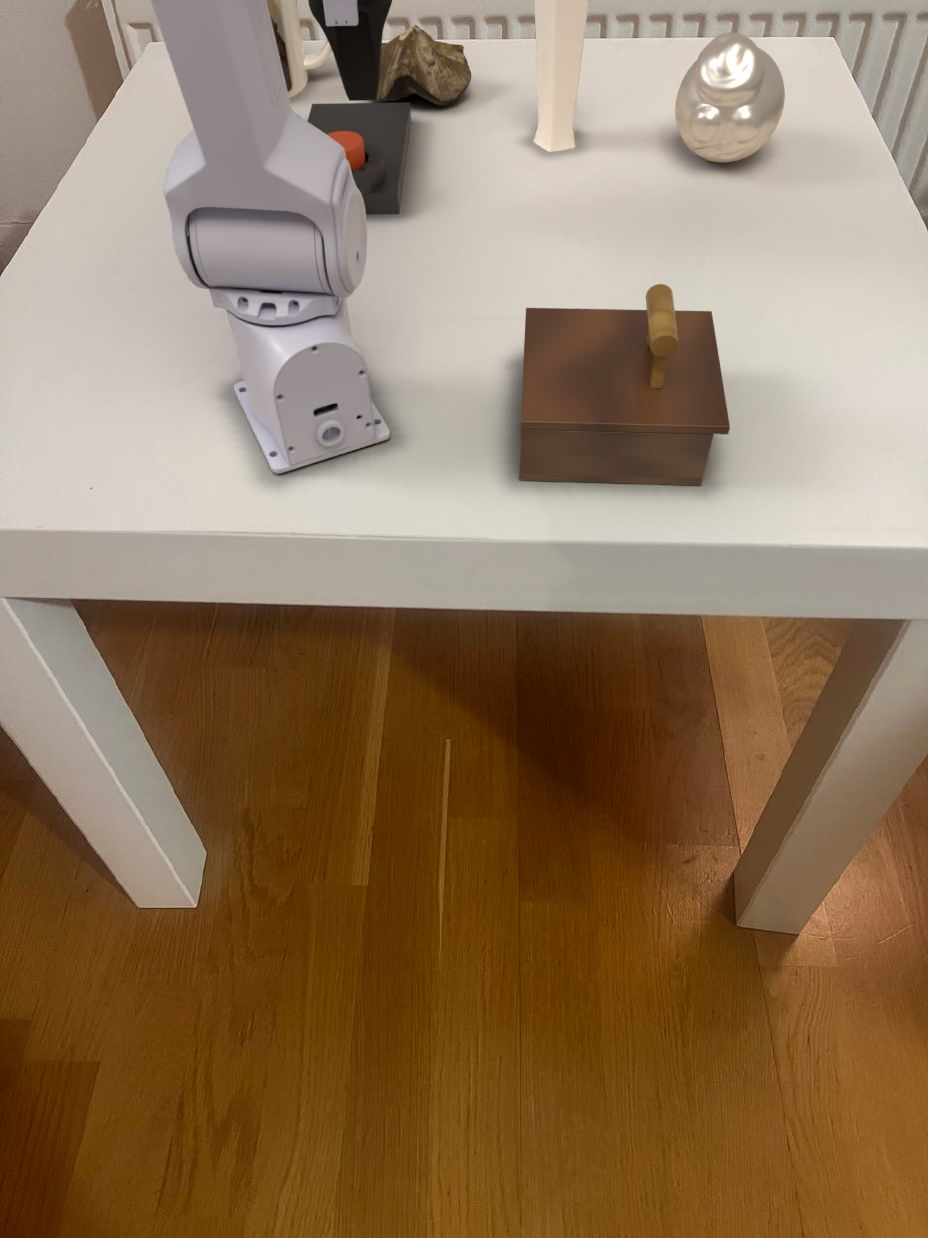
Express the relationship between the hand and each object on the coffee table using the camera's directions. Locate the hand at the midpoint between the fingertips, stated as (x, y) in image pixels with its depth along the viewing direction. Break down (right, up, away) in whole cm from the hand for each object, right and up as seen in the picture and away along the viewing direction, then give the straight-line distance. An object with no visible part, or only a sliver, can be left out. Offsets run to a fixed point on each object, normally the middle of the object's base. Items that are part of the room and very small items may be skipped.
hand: (363, 96), depth 69 cm
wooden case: (+17, -26, -8) cm, 32 cm away
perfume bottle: (+16, +4, +15) cm, 23 cm away
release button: (-2, -1, +8) cm, 8 cm away
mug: (-12, +14, +24) cm, 30 cm away
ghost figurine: (+30, +2, +13) cm, 32 cm away
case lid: (+17, -23, -11) cm, 31 cm away
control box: (-2, +1, +13) cm, 14 cm away
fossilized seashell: (+3, +12, +21) cm, 25 cm away
